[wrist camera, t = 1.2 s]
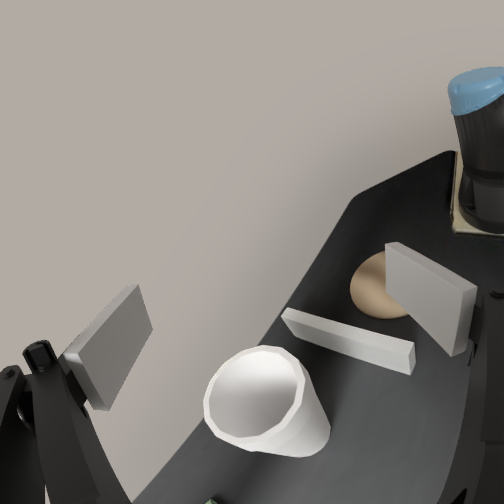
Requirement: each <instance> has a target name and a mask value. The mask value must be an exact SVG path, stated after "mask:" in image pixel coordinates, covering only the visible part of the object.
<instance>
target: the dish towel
mask: <svg viewBox="0 0 504 504" xmlns="http://www.w3.org/2000/svg"><path fill="white" fill-rule="evenodd" d="M206 504H217V503H216V502H214V501H213V500H211V499H210V500H209V501H208V502H207V503H206Z"/></svg>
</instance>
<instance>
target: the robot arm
mask: <svg viewBox="0 0 504 504" xmlns="http://www.w3.org/2000/svg"><path fill="white" fill-rule="evenodd" d="M448 94H449V99H450V104H451V112H452V114H453V116H454V120H455V124H456V128H457V133H458V137H459V143H460V148H461V154H462V160H463V173H462V178H461V183H460V188H459V194H458V200H459V209H460V212H461V214H462V216H463V218H464V219H465V220H466V221H467V222H468V223H469V224H471V225H472V226H474V227H475V228H477V229H480V230H482V231H485V232H489V233H495V234H504V67H486V68H480V69H474V70H471V71H468V72H465V73H462V74H460V75H458V76H456V77H454V78H453V79H452V80H451V81H450V83H449V85H448ZM385 258H386V293H387V294H389V295H390V296H391V297H392V298H393V299H394V300H395V301H396V302H397V303H398V304H399V305H400V306H401V307H402V308H403V309H404V310H405V311H406V312H407V313H408V314H409V315H410V316H411V317H412V318H413V319H414V320H415V321H416V322H417V323H418V324H419V325H420V326H421V327H422V328H423V329H424V330H425V331H426V332H427V333H428V334H429V335H430V336H431V337H432V338H433V339H434V340H435V341H436V342H437V343H438V344H439V345H440V346H441V347H442V348H443V349H444V350H445V351H446V352H447V353H448V354H449V355H450V356H451V357H453V356H455V355H457V354H460V353H462V352H464V351H465V350H466V346H467V342H468V338H470V339H471V340H472V341H473V342H474V344H473V348H472V352H471V356H470V359H469V363H468V366H470V365H471V368H470V377H469V385H468V393H467V399H466V405H465V411H464V417H463V422H462V426H461V431H460V435H459V440H458V444H457V448H456V451H455V455H454V459H453V462H452V465H451V469H450V472H449V475H448V478H447V481H446V484H445V487H444V489H443V492H442V494H441V497H440V499H439V501H438V502H437V504H504V288H502V287H489V288H487V289H484V288H482V287H480V286H479V285H477V284H475V283H474V282H472V281H470V280H469V279H467V278H464V277H463V276H462V275H460V274H458V273H456V272H453V271H450V270H448V269H447V268H445V267H443V266H441V265H439V264H438V263H436V262H434V261H432V260H430V259H429V258H427V257H425V256H423V255H421V254H419V253H418V252H416V251H414V250H412V249H410V248H408V247H406V246H404V245H402V244H401V243H399V242H393V243H388V244H385ZM152 330H153V329H152V326H151V322H150V319H149V317H148V314H147V311H146V307H145V304H144V301H143V298H142V295H141V292H140V288H139V285H132V286H126V287H125V288H124V289H123V290H122V291H121V292H120V293H119V294H118V295H117V296H116V297H115V298H114V299H113V300H112V301H111V302H110V303H109V304H108V305H107V306H106V307H105V308H104V309H103V310H102V312H101V313H100V314H99V315H98V316H97V317H96V318H95V319H94V320H93V321H92V322H91V323H90V324H89V325H88V326H87V327H86V328H85V329H84V331H83V332H82V333H81V334H80V335H79V336H78V337H77V338H76V339H75V340H74V341H73V342H72V343H71V344H70V345H69V347H68V348H67V349H66V350H65V351H64V352H63V353H62V354H61V355H60V357H59V358H58V359H57V357H56V355H55V353H54V351H53V349H52V347H51V344H50V342H49V341H47V340H41V341H37V342H35V343H33V344H31V345H29V346H28V347H27V348H26V349H25V350H24V351H23V353H22V354H23V356H24V358H25V360H26V362H27V364H28V366H29V368H30V370H31V371H32V374H28V375H24V374H23V372H22V371H21V369H20V367H19V366H17V365H13V366H8V367H6V368H4V369H3V371H1V372H0V504H45V485H46V488H47V493H48V496H49V500H50V504H132V503H131V502H130V500H129V499H128V497H127V495H126V493H125V492H124V490H123V488H122V486H121V484H120V483H119V481H118V479H117V477H116V475H115V473H114V471H113V469H112V467H111V465H110V463H109V461H108V459H107V457H106V455H105V453H104V450H103V448H102V446H101V444H100V441H99V439H98V437H97V435H96V432H95V429H94V427H93V425H92V422H91V419H90V417H89V414H88V412H87V410H86V408H85V407H84V403H85V401H86V400H87V399H88V401H89V403H90V404H91V406H92V407H93V409H94V410H103V411H109V410H110V408H111V406H112V404H113V402H114V400H115V398H116V396H117V394H118V392H119V390H120V389H121V387H122V385H123V383H124V381H125V379H126V377H127V376H128V373H129V372H130V370H131V368H132V366H133V364H134V363H135V361H136V359H137V357H138V355H139V354H140V352H141V349H142V348H143V346H144V345H145V343H146V341H147V339H148V337H149V336H150V334H151V332H152ZM18 413H19V414H20V416H21V417H22V420H21V419H20V417H19V415H18Z"/></svg>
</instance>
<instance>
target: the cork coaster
mask: <svg viewBox="0 0 504 504" xmlns="http://www.w3.org/2000/svg"><path fill="white" fill-rule="evenodd" d="M418 253H419V252H418ZM419 254H420V253H419ZM421 255H422V254H421ZM350 293H351V297H352V300H353V302H354V304H355V305H356V307H357V308H358V309H359V310H360V311H361V312H363V313H364V314H366V315H368V316H370V317H373V318H377V319H395V318H400V317H403V316H406V315H408V313H407V312H406V311H405V310H404V309H403V308H402V307H401V306H400V305H399V304H398V303H397V302H396V301H395V300H394V299H393V298H392V297H391V296H390V295H389V294H387V293H386V258H385V251H383V252H380V253H378V254H375V255H374V256H372V257H370V258H369V259H367V260H366V261H365V262H363V263H362V264H361V265H360V267H359V268H358V269H357V270H356V272H355V273H354V275H353V277H352V280H351V285H350Z"/></svg>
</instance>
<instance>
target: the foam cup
mask: <svg viewBox="0 0 504 504" xmlns="http://www.w3.org/2000/svg"><path fill="white" fill-rule="evenodd" d="M203 405H204V417H205V421H206V423H207V424H208V426H209V427H210V429H211V430H212V431H213V433H214V434H215V436H216V437H218V438H220V439H222V440H225V441H227V442H229V443H231V444H233V445H236V446H238V447H240V448H243V449H245V450H248V451H262V452H267V453H273V454H279V455H285V456H292V457H305V456H311V455H313V454H315V453H316V452H318V451H319V450H321V449H322V448H323V447H324V445H325V444H326V442H327V441H328V439H329V436H330V429H331V426H330V424H329V421H328V419H327V416H326V414H325V412H324V410H323V408H322V406H321V404H320V401H319V399H318V397H317V395H316V393H315V390H314V387H313V384H312V382H311V379H310V376H309V374H308V371H307V370H306V369H305V368H304V366H303V365H302V364H301V363H300V361H299V360H298V359H297V358H295V357H294V356H293V355H291V354H290V353H289V352H287V351H286V350H285V349H283V348H281V347H273V346H265V345H261V346H257V347H254V348H250V349H247V350H243V351H241V352H239V353H238V354H237V355H235V356H234V357H232V358H231V359H229V360H228V361H226V362H225V363H223V365H222V366H221V367H220V369H219V370H218V371H217V372H216V374H215V375H214V376H213V377H212V379H211V380H210V382H209V385H208V388H207V391H206V394H205V397H204V400H203Z"/></svg>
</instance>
